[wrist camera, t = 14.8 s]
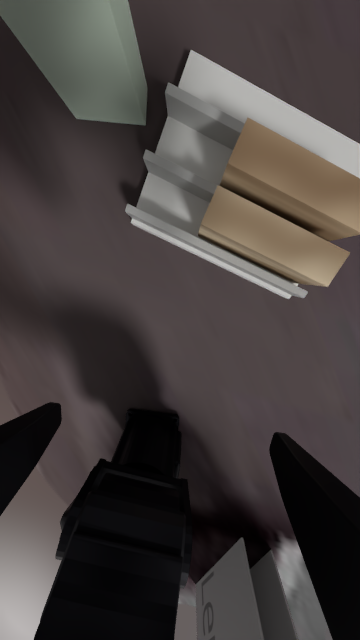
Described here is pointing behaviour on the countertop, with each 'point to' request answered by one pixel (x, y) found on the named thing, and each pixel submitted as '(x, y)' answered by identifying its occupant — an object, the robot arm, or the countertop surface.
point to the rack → (220, 159)
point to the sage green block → (84, 54)
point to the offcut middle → (293, 183)
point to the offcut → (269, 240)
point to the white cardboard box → (243, 600)
